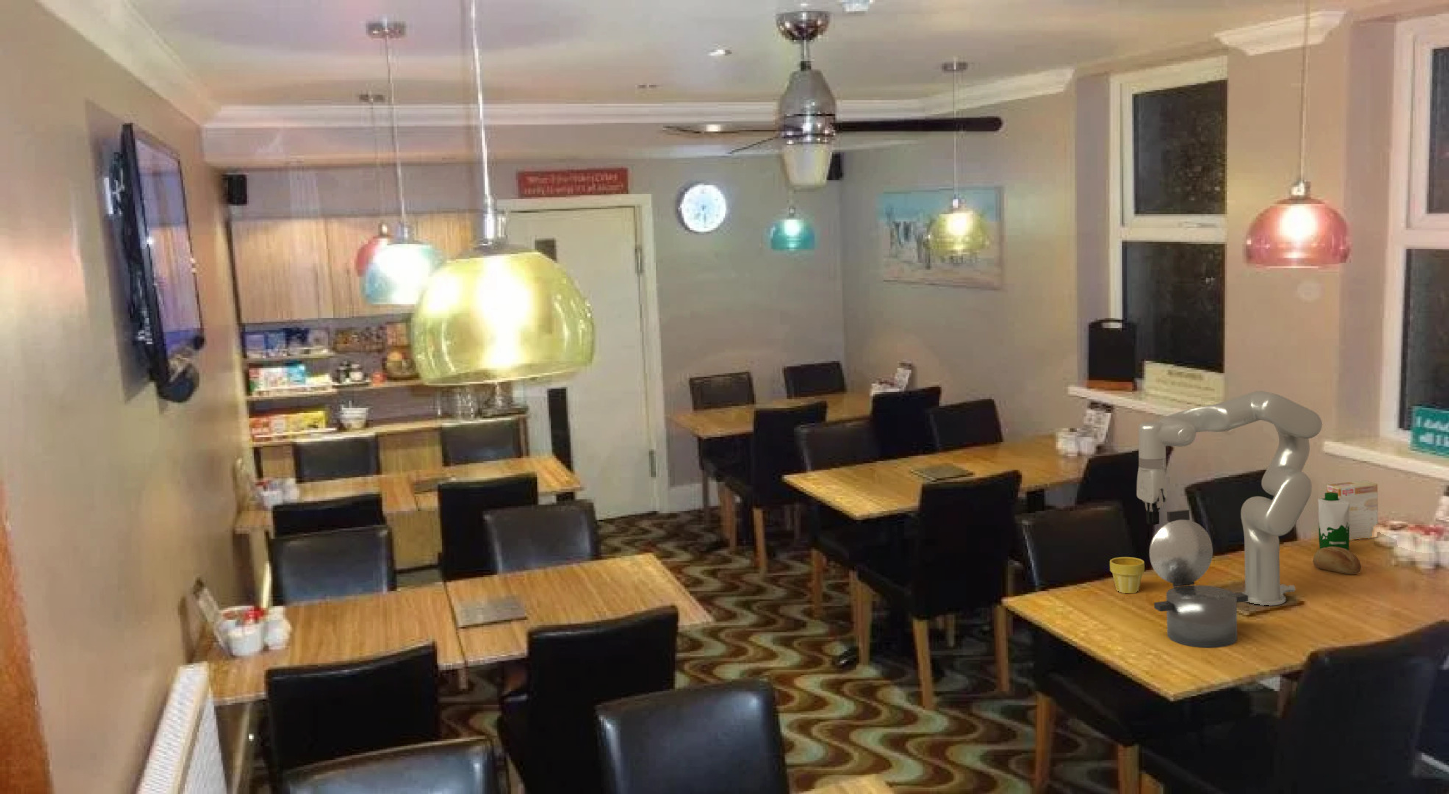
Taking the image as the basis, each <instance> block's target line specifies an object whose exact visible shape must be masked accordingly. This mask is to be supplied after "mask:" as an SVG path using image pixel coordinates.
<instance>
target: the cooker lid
mask: <svg viewBox="0 0 1449 794" xmlns="http://www.w3.org/2000/svg"><path fill="white" fill-rule="evenodd" d="M1166 519H1167V522H1166V523H1164V524H1163V525H1161V526H1160V527H1159V528H1158V529H1157V530H1156V531H1155V533H1154V534H1153V537H1152V538H1151V541H1150V545H1149V548H1148V549H1149V553H1148V555H1149V561H1150V564H1151V566H1152V568H1153V570H1154V572H1155V573H1156V574H1157V576H1159V577H1160V578H1161V579H1162V580H1164V581H1166V582H1168V583H1171V584H1172V587H1173V588H1174V587H1179V586H1188V585H1195V582H1196V581H1198V580H1199V579H1200V578H1201V577H1203V576H1204V575H1205V574H1206V572H1207V571H1208V570H1209V567H1210V565H1211V563H1212V561H1213V560H1212V559H1213V553H1214V549H1213V543H1212V540H1211V539H1212V538H1211V537H1210V535H1209V533H1208V532H1207V531H1206V529H1205V528H1204V527H1203V526H1201V525H1200V524H1199V523H1197V522H1195V521H1193V520H1191V519H1190V510H1189V509H1179V510H1169V511H1166Z"/></svg>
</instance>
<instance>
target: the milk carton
mask: <svg viewBox="0 0 1449 794" xmlns="http://www.w3.org/2000/svg"><path fill="white" fill-rule="evenodd" d="M1317 502H1318V503H1317V504H1318V544H1319V550H1320V549H1321V548H1324V547H1326V548H1327V547H1340V548H1344V549H1347V550H1349V551H1350V541H1349V509H1350V503H1349V502H1347V501H1346V500H1344V499H1342V498H1338V493H1333V492H1328V493H1327V492H1325V493H1324V498H1317Z"/></svg>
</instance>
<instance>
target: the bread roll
mask: <svg viewBox="0 0 1449 794" xmlns="http://www.w3.org/2000/svg"><path fill="white" fill-rule="evenodd" d="M1312 564H1313V566H1314V567H1315V568H1316V569H1319V570H1325V571H1329V572H1336V573H1340V574H1345V575H1346V574H1347V575H1357V574H1360V572H1361V571H1362V565H1361V562H1360V560H1359V557H1357V555H1355V553H1353V552H1352V551H1351V550H1350V549H1349V550H1347V549H1344V548H1340V547H1327V548H1326V547H1324V548H1321V549H1320V548H1319V549H1318V550H1317V551H1316V552H1315V554H1314V556H1313V560H1312Z"/></svg>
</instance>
